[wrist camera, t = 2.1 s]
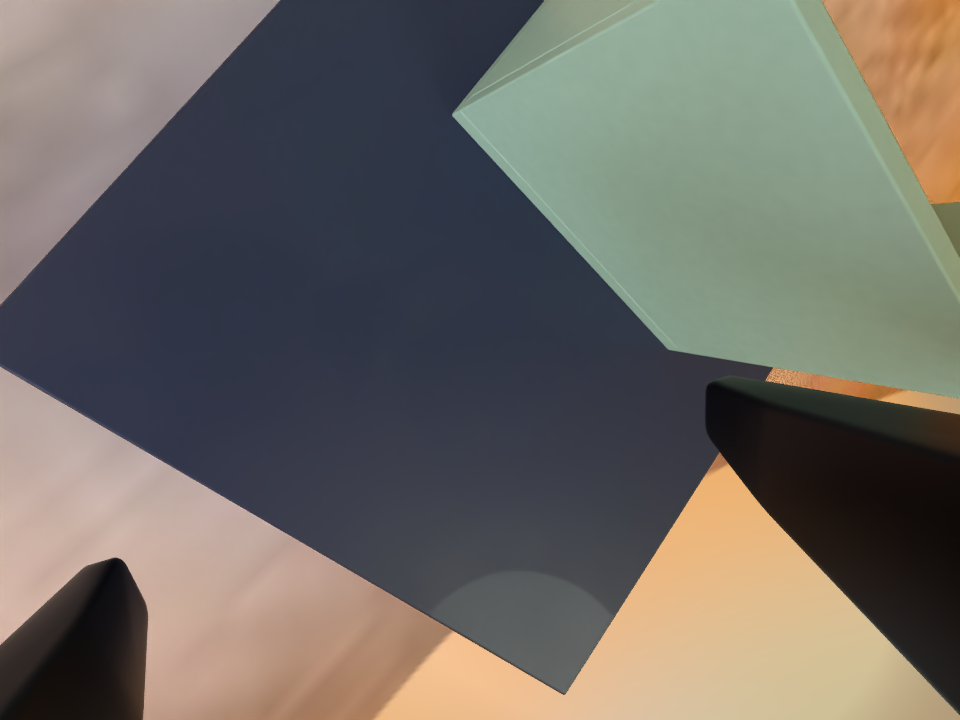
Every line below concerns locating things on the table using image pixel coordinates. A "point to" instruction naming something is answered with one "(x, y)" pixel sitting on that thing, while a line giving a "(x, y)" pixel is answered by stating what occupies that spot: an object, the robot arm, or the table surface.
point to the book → (377, 333)
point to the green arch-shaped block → (730, 184)
